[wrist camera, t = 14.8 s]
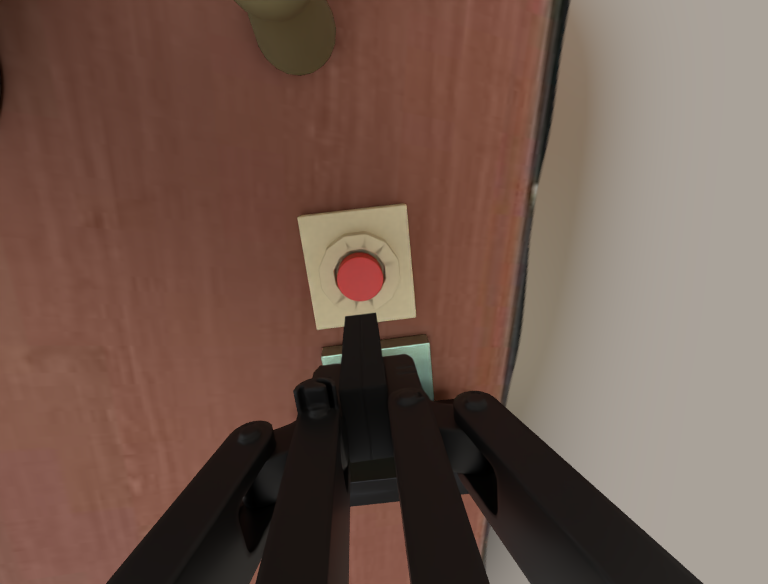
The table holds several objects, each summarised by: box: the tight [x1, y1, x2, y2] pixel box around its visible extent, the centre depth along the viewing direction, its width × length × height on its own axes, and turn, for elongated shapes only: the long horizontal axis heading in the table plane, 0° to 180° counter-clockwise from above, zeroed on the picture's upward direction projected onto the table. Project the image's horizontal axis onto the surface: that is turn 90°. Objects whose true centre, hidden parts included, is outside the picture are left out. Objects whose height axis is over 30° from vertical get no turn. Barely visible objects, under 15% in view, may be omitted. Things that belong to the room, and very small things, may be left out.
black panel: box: [348, 399, 469, 507], centre depth 31 cm, size 14×2×9 cm, turn 93°
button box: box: [297, 203, 416, 330], centre depth 31 cm, size 10×9×4 cm
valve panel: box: [321, 334, 434, 401], centre depth 36 cm, size 18×18×2 cm
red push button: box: [337, 252, 383, 301], centre depth 29 cm, size 4×4×2 cm
